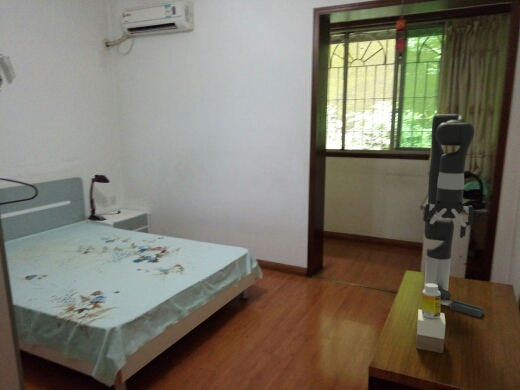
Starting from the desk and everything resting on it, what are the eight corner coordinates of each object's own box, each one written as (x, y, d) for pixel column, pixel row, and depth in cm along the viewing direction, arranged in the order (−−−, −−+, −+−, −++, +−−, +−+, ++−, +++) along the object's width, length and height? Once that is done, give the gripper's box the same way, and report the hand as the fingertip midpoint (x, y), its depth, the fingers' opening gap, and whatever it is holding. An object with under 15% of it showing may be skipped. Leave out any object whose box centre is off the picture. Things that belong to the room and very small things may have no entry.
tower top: (417, 322, 135) (418, 309, 134) (443, 327, 132) (444, 313, 131) (417, 334, 127) (418, 319, 126) (444, 339, 124) (445, 324, 123)
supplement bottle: (437, 320, 125) (437, 289, 124) (419, 316, 129) (419, 285, 128) (443, 314, 129) (443, 284, 128) (425, 310, 133) (425, 281, 132)
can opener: (428, 304, 160) (429, 289, 158) (432, 300, 163) (433, 285, 162) (480, 319, 147) (482, 303, 146) (483, 314, 151) (485, 299, 150)
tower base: (416, 336, 135) (417, 322, 135) (442, 340, 132) (443, 327, 132) (416, 348, 128) (417, 334, 127) (443, 353, 125) (444, 339, 124)
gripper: (474, 186, 125) (469, 235, 128) (426, 183, 131) (422, 231, 134) (477, 189, 118) (472, 241, 121) (426, 187, 124) (422, 236, 127)
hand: (446, 236), depth 127 cm, fingers open, 8 cm apart
